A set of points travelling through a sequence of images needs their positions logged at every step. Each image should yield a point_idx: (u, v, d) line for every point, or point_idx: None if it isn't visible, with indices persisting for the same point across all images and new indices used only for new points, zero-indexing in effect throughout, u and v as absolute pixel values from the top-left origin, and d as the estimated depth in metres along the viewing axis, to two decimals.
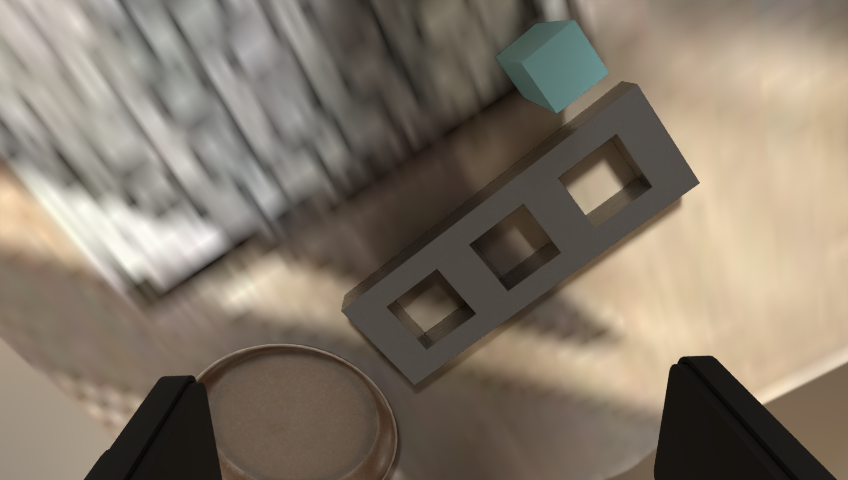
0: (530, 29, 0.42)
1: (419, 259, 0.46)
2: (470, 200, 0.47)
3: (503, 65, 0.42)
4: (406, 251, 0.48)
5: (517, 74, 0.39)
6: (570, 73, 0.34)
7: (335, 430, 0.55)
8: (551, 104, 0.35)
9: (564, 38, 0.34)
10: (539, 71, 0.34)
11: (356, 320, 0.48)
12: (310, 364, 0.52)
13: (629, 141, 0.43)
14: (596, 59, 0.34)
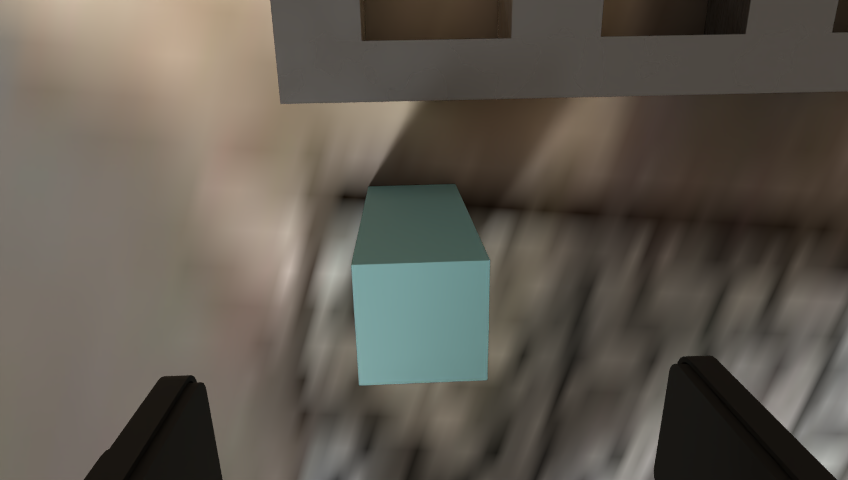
0: None
1: (837, 75, 0.22)
2: None
3: None
4: None
5: None
6: (419, 311, 0.16)
7: None
8: (487, 282, 0.16)
9: (393, 369, 0.17)
10: (469, 348, 0.17)
11: None
12: None
13: (347, 6, 0.20)
14: (360, 303, 0.16)
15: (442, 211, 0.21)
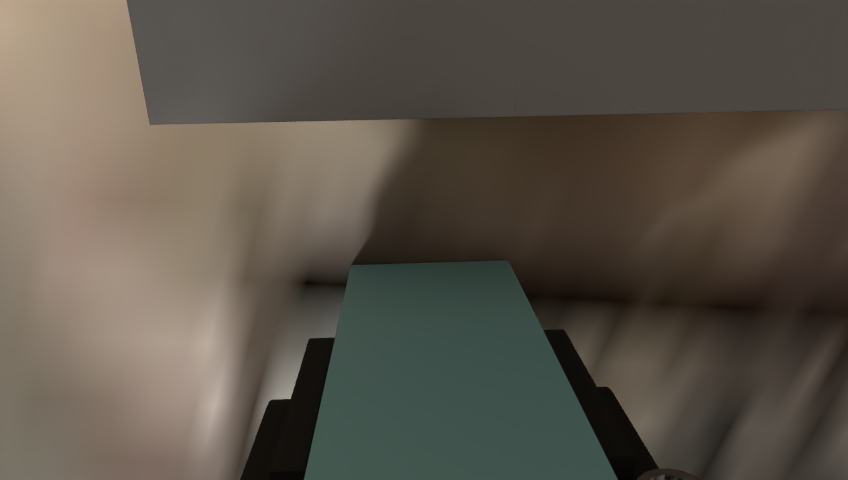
0: None
1: None
2: None
3: None
4: None
5: None
6: None
7: None
8: None
9: None
10: None
11: None
12: None
13: None
14: None
15: (504, 362, 0.10)
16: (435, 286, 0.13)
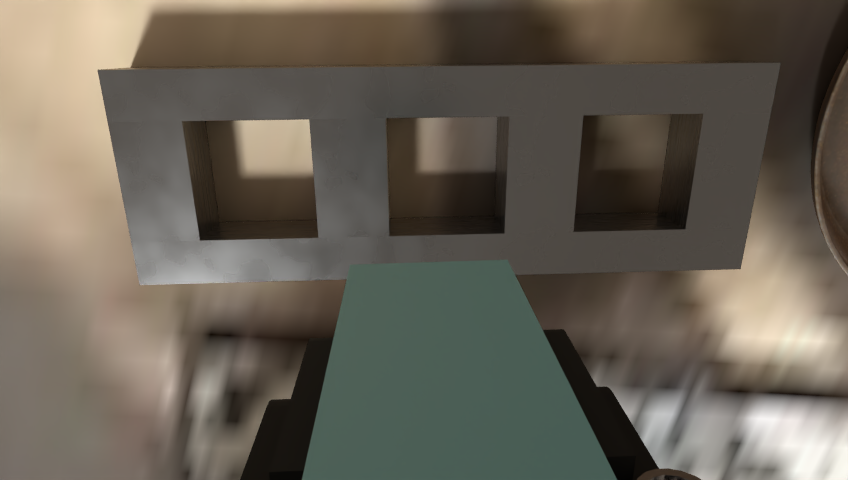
0: None
1: (582, 261, 0.27)
2: None
3: None
4: None
5: None
6: None
7: None
8: None
9: None
10: None
11: (738, 240, 0.27)
12: None
13: (187, 217, 0.26)
14: None
15: (504, 362, 0.09)
16: (434, 286, 0.12)
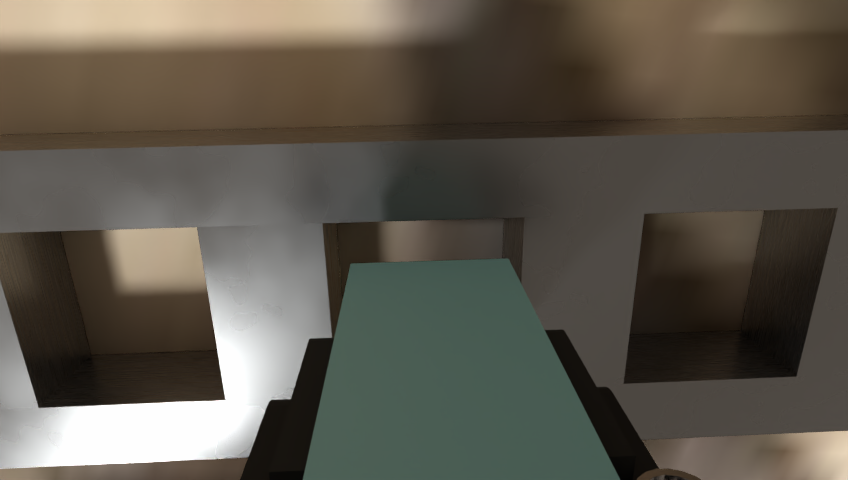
0: None
1: (636, 424, 0.18)
2: None
3: None
4: None
5: None
6: None
7: None
8: None
9: None
10: None
11: None
12: None
13: (13, 375, 0.16)
14: None
15: (505, 360, 0.09)
16: (435, 284, 0.12)
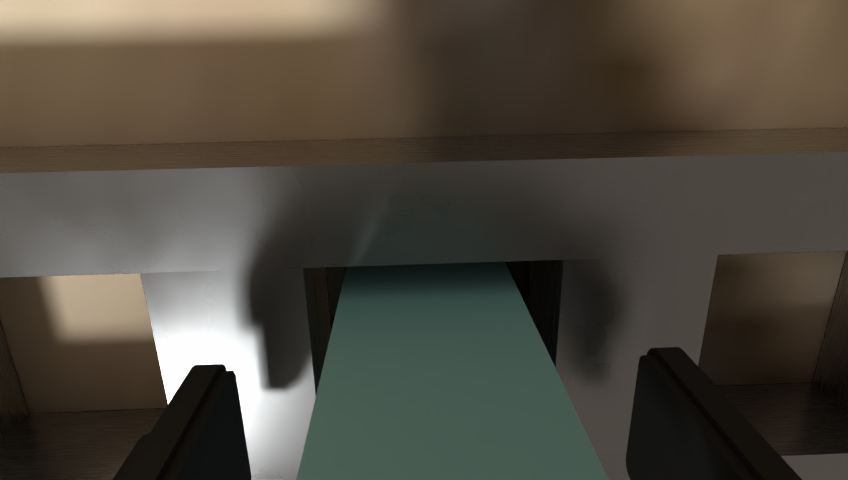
0: None
1: None
2: None
3: None
4: None
5: None
6: None
7: None
8: None
9: None
10: None
11: None
12: None
13: None
14: None
15: (490, 334, 0.10)
16: (428, 269, 0.13)
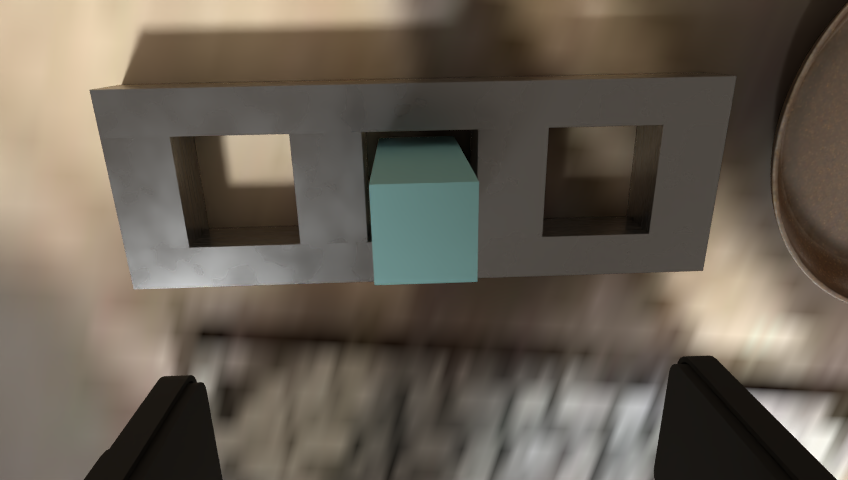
0: None
1: (551, 265, 0.29)
2: None
3: None
4: None
5: None
6: (422, 223, 0.20)
7: None
8: (476, 199, 0.20)
9: (402, 272, 0.21)
10: (462, 255, 0.21)
11: (700, 244, 0.29)
12: (812, 195, 0.31)
13: (176, 225, 0.27)
14: (376, 216, 0.20)
15: (442, 153, 0.25)
16: (418, 141, 0.28)
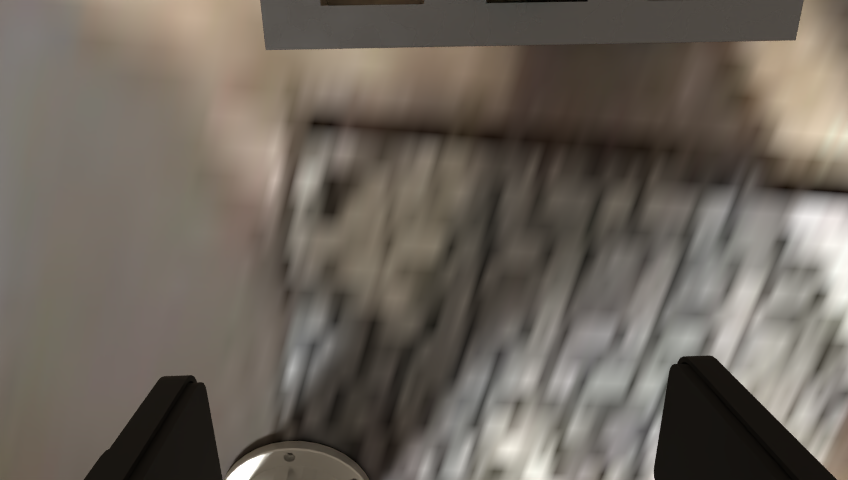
0: None
1: (655, 31, 0.31)
2: None
3: None
4: None
5: None
6: None
7: None
8: None
9: None
10: None
11: (794, 11, 0.31)
12: None
13: None
14: None
15: None
16: None
